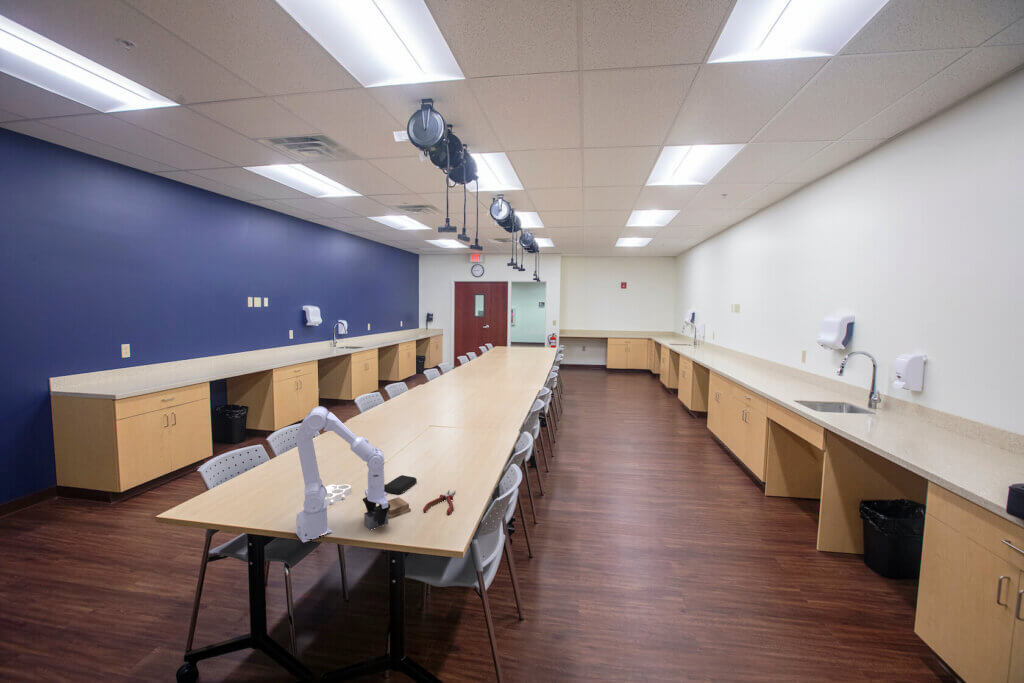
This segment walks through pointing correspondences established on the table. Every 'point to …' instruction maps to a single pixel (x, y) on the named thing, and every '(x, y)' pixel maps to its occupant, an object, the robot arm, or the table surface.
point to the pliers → (440, 499)
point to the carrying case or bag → (400, 484)
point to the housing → (372, 520)
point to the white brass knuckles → (336, 493)
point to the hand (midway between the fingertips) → (376, 520)
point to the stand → (397, 507)
